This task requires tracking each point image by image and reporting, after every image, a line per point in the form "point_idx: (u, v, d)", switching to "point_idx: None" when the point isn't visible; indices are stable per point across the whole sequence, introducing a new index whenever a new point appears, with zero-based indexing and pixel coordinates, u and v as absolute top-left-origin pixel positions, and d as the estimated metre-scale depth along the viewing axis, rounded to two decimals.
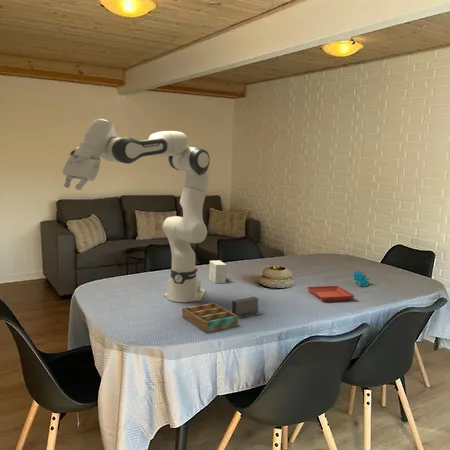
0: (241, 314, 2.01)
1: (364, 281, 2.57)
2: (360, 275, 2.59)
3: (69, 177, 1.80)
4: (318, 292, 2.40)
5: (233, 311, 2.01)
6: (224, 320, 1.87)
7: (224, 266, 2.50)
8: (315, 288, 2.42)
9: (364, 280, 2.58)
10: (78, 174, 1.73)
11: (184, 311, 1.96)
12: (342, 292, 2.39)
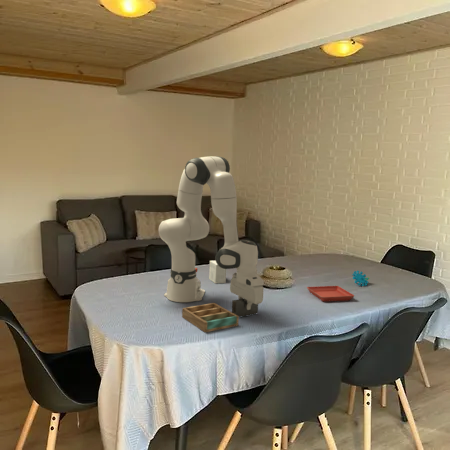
0: (241, 314, 2.01)
1: (363, 281, 2.58)
2: (360, 275, 2.59)
3: None
4: (318, 292, 2.40)
5: (233, 311, 2.01)
6: (224, 320, 1.87)
7: None
8: (315, 288, 2.42)
9: (363, 280, 2.58)
10: None
11: (184, 311, 1.96)
12: (342, 292, 2.39)
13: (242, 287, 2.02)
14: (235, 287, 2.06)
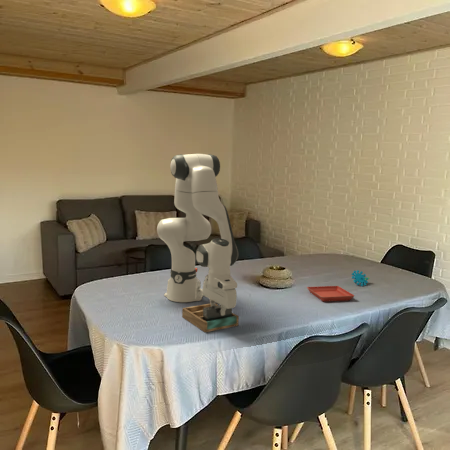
0: None
1: (363, 280, 2.58)
2: (359, 274, 2.60)
3: None
4: (318, 292, 2.40)
5: (204, 319, 1.86)
6: (224, 320, 1.87)
7: None
8: (315, 288, 2.42)
9: (363, 280, 2.59)
10: None
11: (184, 311, 1.96)
12: (342, 292, 2.39)
13: (214, 290, 1.87)
14: (207, 290, 1.91)
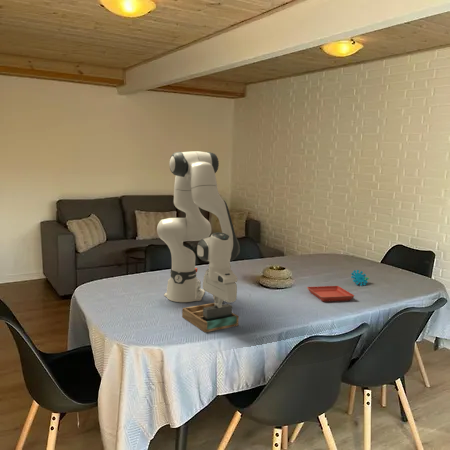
0: None
1: (362, 280, 2.59)
2: (359, 274, 2.61)
3: None
4: (318, 292, 2.40)
5: (204, 319, 1.86)
6: (224, 320, 1.87)
7: None
8: (315, 288, 2.42)
9: (362, 279, 2.59)
10: None
11: (184, 311, 1.96)
12: (342, 292, 2.39)
13: (215, 284, 1.86)
14: (208, 284, 1.90)
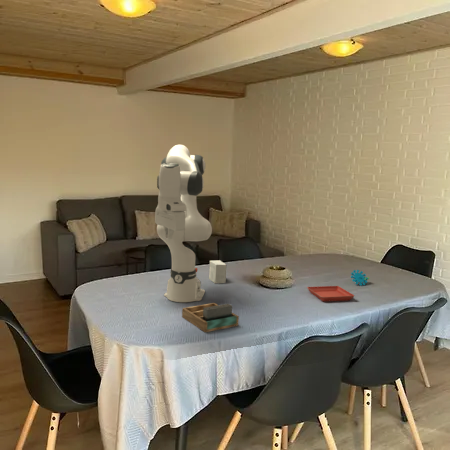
0: None
1: (362, 280, 2.59)
2: (359, 274, 2.61)
3: None
4: (318, 292, 2.40)
5: (204, 319, 1.86)
6: (224, 320, 1.87)
7: (224, 266, 2.50)
8: (315, 288, 2.42)
9: (362, 279, 2.59)
10: None
11: (184, 311, 1.96)
12: (342, 292, 2.39)
13: (165, 215, 1.84)
14: (159, 217, 1.88)
